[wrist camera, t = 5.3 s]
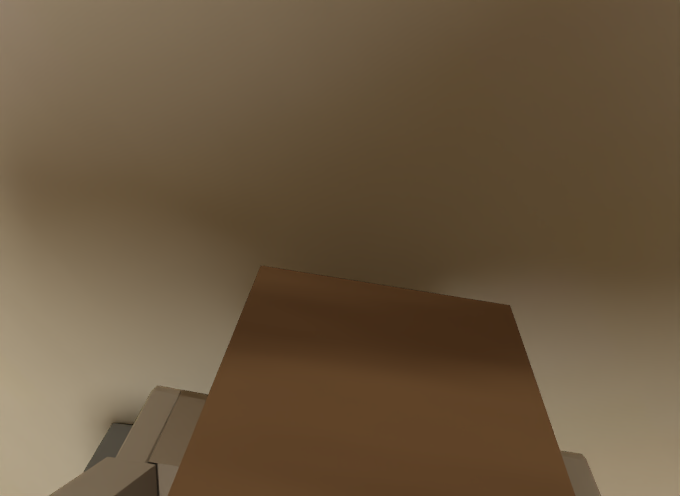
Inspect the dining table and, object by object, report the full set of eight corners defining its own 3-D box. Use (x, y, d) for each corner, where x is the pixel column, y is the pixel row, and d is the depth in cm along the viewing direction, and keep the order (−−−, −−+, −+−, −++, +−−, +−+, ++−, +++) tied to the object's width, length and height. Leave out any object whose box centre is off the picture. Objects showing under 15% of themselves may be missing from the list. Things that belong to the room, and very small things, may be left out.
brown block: (260, 265, 10) (146, 548, 5) (510, 305, 10) (620, 624, 5) (248, 434, 13) (163, 731, 8) (449, 467, 13) (486, 783, 8)
